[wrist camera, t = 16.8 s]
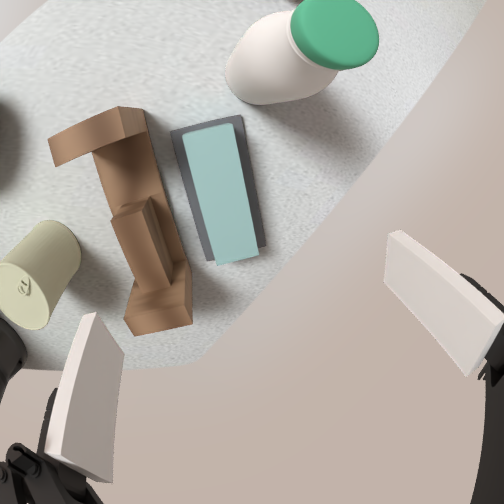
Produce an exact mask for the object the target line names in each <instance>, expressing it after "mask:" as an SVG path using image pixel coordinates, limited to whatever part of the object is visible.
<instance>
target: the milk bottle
mask: <svg viewBox="0 0 504 504" xmlns="http://www.w3.org/2000/svg"><path fill="white" fill-rule="evenodd" d="M378 46H379V34H378V29H377V26H376V24H375V22H374V20H373V18H372V17H371V15H370V14H369V13H368V11H367V10H366V9H365V8H364V7H363V6H362V5H361V4H359V3H358V2H357V1H355V0H304V1H302V2H301V3H300V4H299V5H298V6H297V7H296V8H295V9H294V10H293V11H282V12H276V13H273V14H270V15H267V16H265V17H263V18H261V19H260V20H258V21H257V22H255V23H254V24H253V25H252V26H251V27H250V28H249V29H248V30H247V31H246V32H245V34H244V35H243V36H242V38H241V39H240V41H239V42H238V44H237V45H236V47H235V49H234V50H233V52H232V54H231V56H230V58H229V60H228V62H227V65H226V68H225V78H226V82H227V85H228V87H229V89H230V90H231V91H232V93H233V94H234V95H235V96H236V97H238V98H239V99H241V100H242V101H244V102H247V103H250V104H255V105H267V104H274V103H282V102H288V101H294V100H299V99H303V98H307V97H310V96H312V95H314V94H316V93H318V92H320V91H322V90H323V89H324V88H326V87H327V86H328V85H329V84H330V83H331V82H332V81H333V79H334V78H335V77H336V75H337V73H338V71H342V70H346V69H352V68H356V67H359V66H362V65H364V64H366V63H367V62H369V61H370V60H371V59H372V58H373V57H374V55H375V54H376V52H377V50H378Z"/></svg>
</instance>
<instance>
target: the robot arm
mask: <svg viewBox="0 0 504 504" xmlns="http://www.w3.org/2000/svg"><path fill="white" fill-rule="evenodd" d="M384 283H385V285H386V286H387V287H388V288H389V289H390V290H391V291H392V292H393V293H394V294H395V295H396V296H397V297H398V298H399V299H400V300H401V301H402V302H403V304H404V305H405V306H406V307H407V308H408V309H409V310H410V311H411V312H412V313H413V314H414V316H415V317H416V318H417V319H418V320H419V321H420V322H421V323H422V325H423V326H424V327H425V328H426V329H427V330H428V331H429V332H430V334H432V336H433V337H434V338H435V339H436V341H437V342H438V343H439V344H440V345H441V346H442V347H443V349H444V350H445V351H446V352H447V354H448V355H449V356H450V357H451V359H452V360H453V361H454V362H455V363H456V365H457V366H458V367H459V368H460V370H461V371H462V372H463V374H464V375H465V376H466V377H467V376H468V375H470V374H471V373H472V372H473V371H475V370H476V369H477V368H478V367H479V365H480V364H481V362H482V361H483V359H484V358H485V359H486V360H487V363H486V364H485V366H484V367H483V369H482V370H481V372H480V373H479V375H478V380H480V379H481V377H482V376H483V374H484V373H485V376H484V378H483V380H486V402H485V422H484V434H483V443H482V451H481V457H480V464H479V469H478V474H477V479H476V483H475V488H474V492H473V495H472V500H471V503H470V504H504V306H503V305H502V304H501V303H500V302H499V301H497V299H495V298H494V297H493V296H492V295H491V294H490V293H487V291H486V290H485V289H484V288H483V287H481V286H480V285H479V284H478V283H477V282H476V281H475V280H473V279H472V278H470V277H468V276H466V275H464V274H458V273H457V272H456V271H455V270H453V269H452V268H451V267H450V266H448V265H447V264H446V263H445V262H443V261H442V260H441V259H439V258H438V257H437V256H436V255H434V254H433V253H432V252H430V251H429V250H428V249H426V248H425V247H424V246H422V245H421V244H419V243H418V242H417V241H415V240H414V239H413V238H411V237H410V236H408V235H407V234H405V233H404V232H403V231H401V230H398V231H394V232H391V233H388V237H387V253H386V264H385V273H384ZM124 355H125V354H124V352H123V351H122V350H121V348H120V347H119V345H118V344H117V343H116V341H115V340H114V338H113V337H112V335H111V334H110V332H109V331H108V329H107V328H106V326H105V325H104V323H103V321H102V320H101V318H100V317H99V315H98V313H97V312H94V313H89V314H85V315H83V316H82V319H81V322H80V324H79V327H78V329H77V332H76V335H75V337H74V340H73V343H72V346H71V349H70V351H69V354H68V357H67V360H66V364H65V367H64V370H63V373H62V376H61V380H60V383H59V387H58V388H55V389H54V391H53V392H52V394H51V396H50V397H49V400H48V403H47V407H46V410H47V411H46V412H45V416H44V421H43V424H42V429H41V434H40V438H39V444H38V449H37V453H34V452H32V451H31V450H30V449H28V448H27V447H25V446H24V445H22V444H21V443H14V444H12V445H11V446H10V448H9V449H8V451H7V454H6V463H5V462H0V504H27V503H29V504H103V502H102V501H101V499H100V498H99V497H98V495H97V494H96V493H95V491H94V490H93V488H92V487H91V486H90V485H89V484H88V483H87V482H86V477H88V478H90V479H92V480H94V481H96V482H104V483H113V454H114V437H115V436H114V435H115V423H116V413H117V403H118V395H119V387H120V380H121V373H122V367H123V361H124ZM26 358H27V352H26V349H25V346H24V344H23V342H22V341H21V339H20V338H19V336H18V335H17V333H16V332H15V331H14V330H13V329H12V328H11V327H10V326H9V325H8V324H7V323H6V322H5V321H4V320H3V319H1V318H0V403H1V399H2V397H3V394H4V392H5V389H6V386H7V384H8V381H9V380H10V379H11V378H12V377H13V376H14V375H15V374H16V373H17V372H18V371H19V370H20V369H21V368H22V367H23V365H24V363H25V361H26Z"/></svg>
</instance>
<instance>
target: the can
mask: <svg viewBox="0 0 504 504" xmlns="http://www.w3.org/2000/svg"><path fill="white" fill-rule="evenodd" d="M80 263H81V250H80V246H79V244H78V241H77V239H76V238H75V236H74V235H73V233H72V232H71V231H70V230H69V229H68V228H67V227H66V226H64V225H63V224H61V223H59V222H56V221H52V220H47V221H42V222H40V223H38V224H37V225H36V226H35V227H34V228H33V230H32V231H31V232H30V233H29V234H28V235H27V236H26V237H25V238H24V239H23V240H22V241H21V242H20V243H19V244H18V245H17V246H15V247H14V248H13V249H12V250H11V251H10V252H9V253H8V254H7V255H6V256H5V257H4V258H3V259H2V260H1V262H0V309H1V311H2V312H3V313H4V314H5V315H6V316H7V317H8V318H9V319H10V320H11V321H13V322H14V323H15V324H17V325H19V326H21V327H23V328H25V329H29V330H39V329H42V328H44V327H45V326H46V325H47V324H48V322H49V320H50V317H51V314H52V312H53V310H54V308H55V306H56V305H57V303H58V301H59V299H60V297H61V295H62V294H63V292H64V290H65V288H66V287H67V285H68V283H69V282H70V280H71V278H72V277H73V275H74V274H75V273H76V272H77V271H78V269H79V267H80Z"/></svg>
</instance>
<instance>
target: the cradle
mask: <svg viewBox="0 0 504 504" xmlns="http://www.w3.org/2000/svg"><path fill="white" fill-rule="evenodd" d="M48 143H49V146H50V150H51V154H52V157H53V161H54V164H55V167H58V166H60V165H62V164H64V163H66V162H68V161H71V160H73V159H75V158H77V157H80V156H82V155H84V154H87V153H89V152H92V155H93V158H94V162H95V165H96V168H97V171H98V174H99V178H100V181H101V184H102V187H103V190H104V193H105V195H106V198H107V201H108V204H109V207H110V209H111V212H112V215H113V218H112V220H111V224H112V226H113V229H114V231H115V234H116V236H117V239H118V241H119V243H120V246H121V248H122V250H123V253H124V255H125V257H126V260H127V262H128V264H129V266H130V268H131V271H132V273H133V275H134V277H135V280H134V283H133V287H132V290H131V294H130V297H129V301H128V304H127V308H126V312H125V316H124V320H125V322H126V324H127V325H128V327H129V329H130V330H131V332H132V334H133V335H134V336H140V335H145V334H150V333H154V332H159V331H164V330H169V329H173V328H178V327H182V326H187V325H191V324H193V317H192V272H191V269H190V266H189V263H188V260H187V258H186V255H185V252H184V249H183V246H182V243H181V240H180V237H179V234H178V231H177V228H176V225H175V222H174V219H173V216H172V213H171V209H170V206H169V203H168V200H167V196H166V193H165V190H164V186H163V183H162V180H161V176H160V173H159V169H158V166H157V162H156V159H155V155H154V151H153V148H152V144H151V140H150V136H149V132H148V128H147V124H146V120H145V116H144V112H143V109H139V108H130V107H120V106H117V107H115V108H112V109H110V110H107V111H105V112H103V113H100V114H98V115H95V116H93V117H91V118H89V119H86V120H84V121H82V122H80V123H78V124H76V125H74V126H72V127H70V128H68V129H66V130H64V131H62V132H60V133H58V134H56V135H54V136H52V137H50V138H49V139H48Z"/></svg>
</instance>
